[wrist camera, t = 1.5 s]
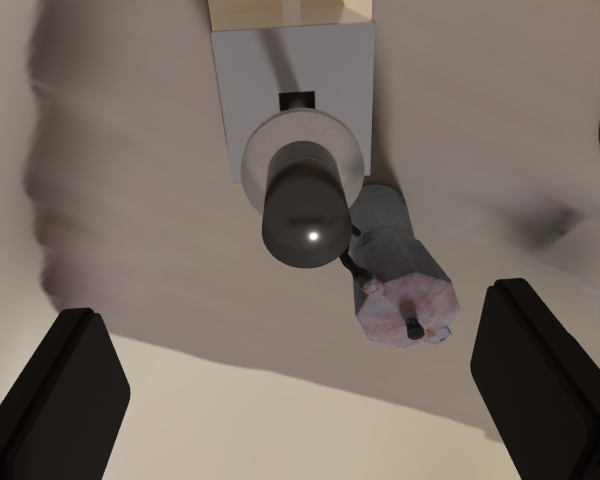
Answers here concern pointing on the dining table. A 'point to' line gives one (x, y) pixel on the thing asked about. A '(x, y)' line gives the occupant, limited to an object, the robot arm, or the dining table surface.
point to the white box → (293, 63)
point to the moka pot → (395, 274)
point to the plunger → (303, 181)
